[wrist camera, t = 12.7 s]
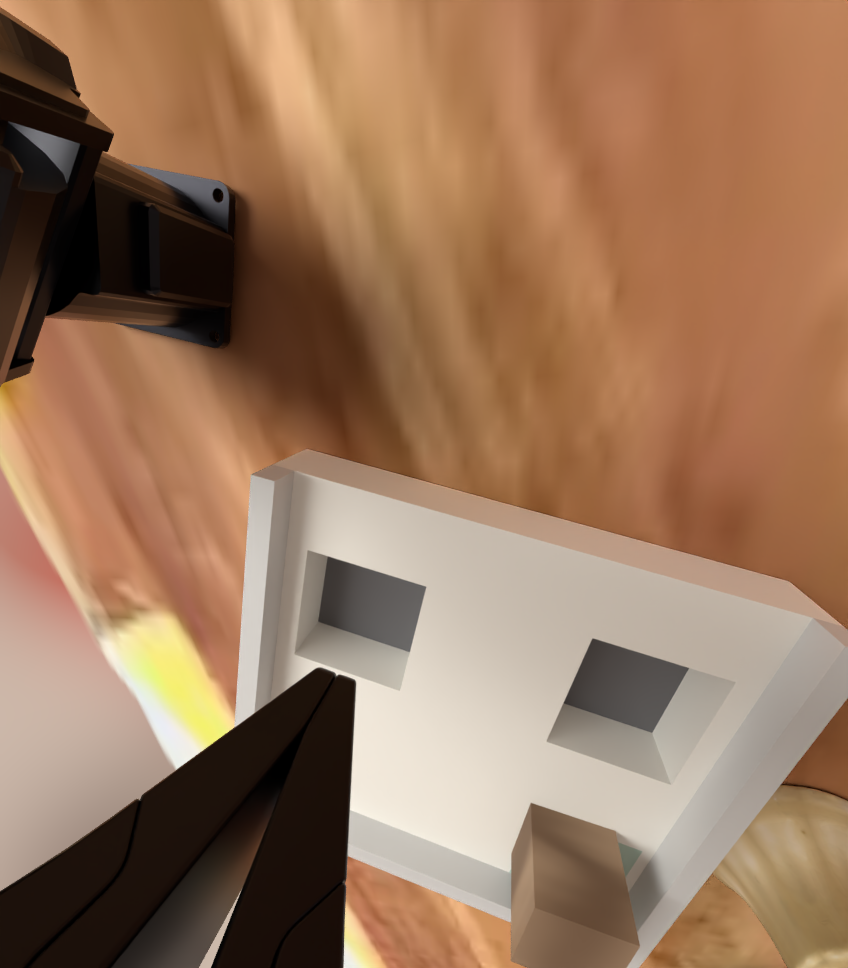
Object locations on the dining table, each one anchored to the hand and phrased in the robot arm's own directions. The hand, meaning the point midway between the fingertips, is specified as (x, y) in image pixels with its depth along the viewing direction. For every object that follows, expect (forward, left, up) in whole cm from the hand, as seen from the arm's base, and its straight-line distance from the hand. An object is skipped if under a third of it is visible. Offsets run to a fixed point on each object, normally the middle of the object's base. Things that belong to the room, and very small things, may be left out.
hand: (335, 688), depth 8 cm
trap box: (+4, -9, -12) cm, 16 cm away
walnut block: (+10, -15, -9) cm, 20 cm away
